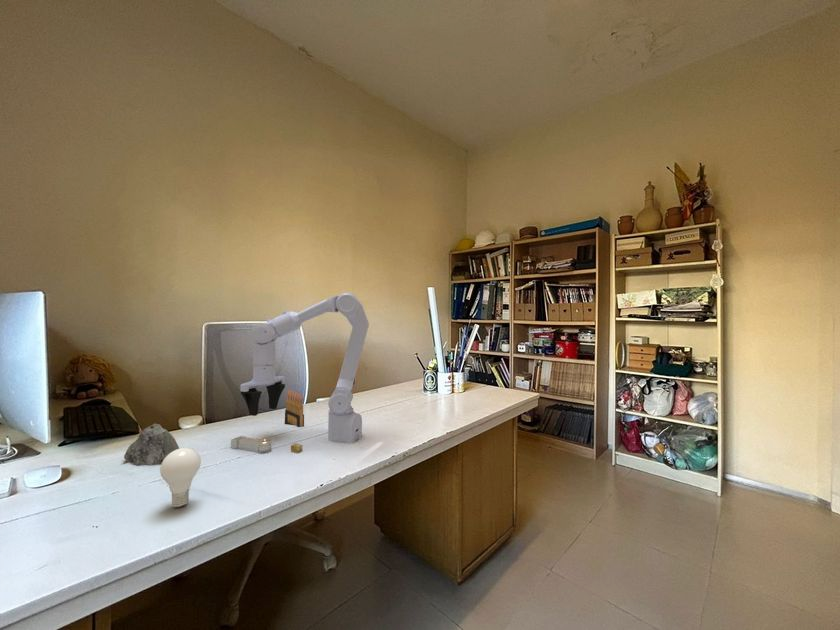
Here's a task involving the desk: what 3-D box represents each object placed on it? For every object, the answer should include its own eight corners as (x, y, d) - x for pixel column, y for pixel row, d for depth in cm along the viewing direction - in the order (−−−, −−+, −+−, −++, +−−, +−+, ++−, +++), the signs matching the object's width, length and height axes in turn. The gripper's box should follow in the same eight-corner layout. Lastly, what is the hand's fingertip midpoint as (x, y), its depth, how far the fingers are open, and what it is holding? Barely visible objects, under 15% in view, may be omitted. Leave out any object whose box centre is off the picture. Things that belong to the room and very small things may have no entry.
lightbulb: (168, 520, 59) (169, 458, 59) (153, 508, 62) (154, 450, 63) (206, 503, 64) (207, 447, 65) (190, 494, 68) (191, 440, 68)
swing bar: (273, 449, 88) (274, 437, 88) (264, 454, 85) (264, 442, 85) (240, 443, 92) (241, 432, 92) (230, 447, 89) (231, 436, 89)
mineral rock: (124, 460, 84) (124, 420, 84) (176, 449, 91) (177, 413, 91) (123, 478, 74) (124, 434, 74) (181, 465, 81) (182, 424, 81)
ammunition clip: (304, 430, 108) (304, 393, 108) (298, 431, 106) (299, 394, 107) (289, 422, 115) (290, 388, 115) (284, 424, 114) (285, 389, 114)
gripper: (272, 361, 104) (271, 404, 103) (232, 367, 90) (231, 417, 90) (290, 362, 101) (289, 406, 101) (252, 368, 87) (251, 420, 87)
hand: (263, 411), depth 95 cm, fingers open, 7 cm apart
